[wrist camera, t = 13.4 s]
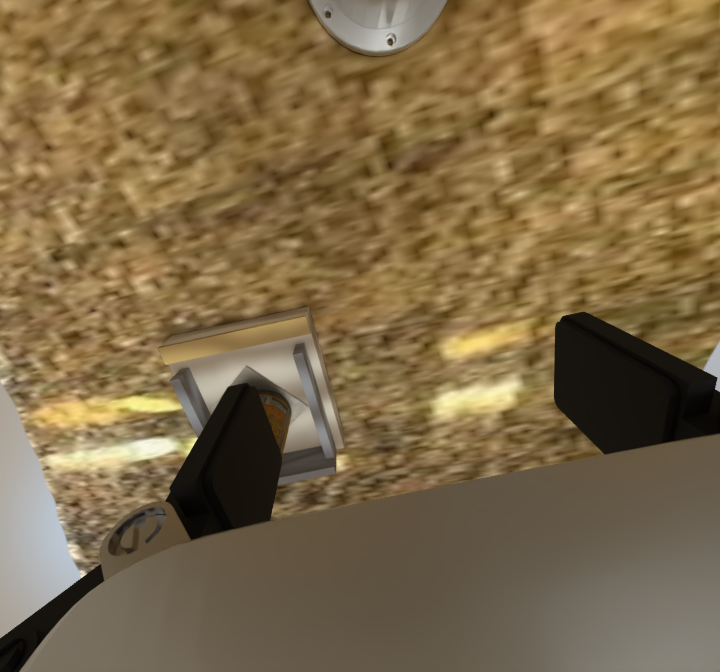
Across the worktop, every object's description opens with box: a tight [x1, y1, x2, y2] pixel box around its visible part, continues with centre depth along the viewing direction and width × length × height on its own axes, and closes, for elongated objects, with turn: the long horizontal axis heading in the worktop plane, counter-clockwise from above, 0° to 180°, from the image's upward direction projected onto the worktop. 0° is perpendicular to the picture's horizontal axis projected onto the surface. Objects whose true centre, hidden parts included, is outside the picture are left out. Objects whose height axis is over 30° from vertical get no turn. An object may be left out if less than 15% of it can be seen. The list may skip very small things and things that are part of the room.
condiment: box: [211, 366, 308, 458], centre depth 35 cm, size 7×8×12 cm
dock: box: [158, 306, 344, 485], centre depth 39 cm, size 18×16×7 cm
